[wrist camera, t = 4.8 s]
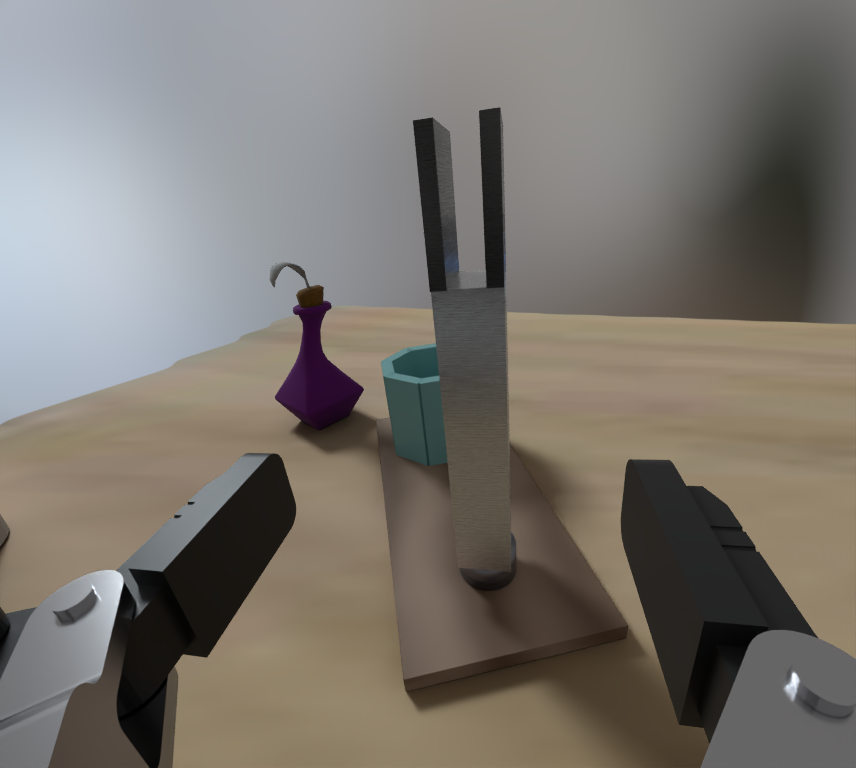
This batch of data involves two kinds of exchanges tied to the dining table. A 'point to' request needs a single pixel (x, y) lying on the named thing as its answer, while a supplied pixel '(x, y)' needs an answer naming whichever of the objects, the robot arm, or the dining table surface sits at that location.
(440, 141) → the grey long forked bar
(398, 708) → the dining table surface
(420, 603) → the walnut board
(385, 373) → the crock
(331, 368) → the perfume bottle
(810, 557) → the dining table surface
